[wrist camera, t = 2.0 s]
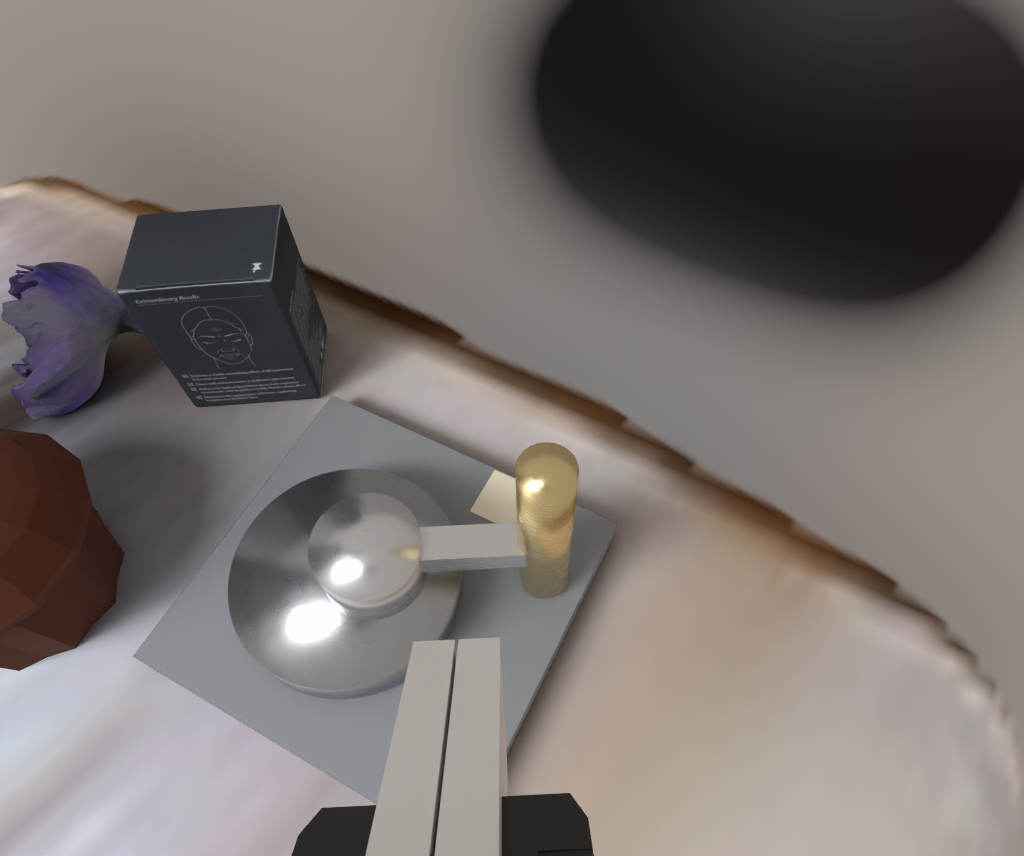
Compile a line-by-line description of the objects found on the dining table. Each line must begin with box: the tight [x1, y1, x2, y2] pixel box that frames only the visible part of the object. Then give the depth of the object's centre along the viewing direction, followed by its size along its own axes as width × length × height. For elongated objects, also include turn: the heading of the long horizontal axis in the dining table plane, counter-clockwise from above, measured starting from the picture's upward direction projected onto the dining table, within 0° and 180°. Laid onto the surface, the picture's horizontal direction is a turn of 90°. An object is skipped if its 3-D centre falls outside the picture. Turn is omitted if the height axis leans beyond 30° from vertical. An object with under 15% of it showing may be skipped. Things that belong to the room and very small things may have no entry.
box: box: [117, 205, 327, 407], centre depth 44 cm, size 8×6×11 cm
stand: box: [133, 396, 617, 804], centre depth 39 cm, size 18×17×2 cm
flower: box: [1, 262, 145, 420], centre depth 46 cm, size 9×9×10 cm
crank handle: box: [228, 443, 579, 699], centre depth 34 cm, size 16×11×11 cm
